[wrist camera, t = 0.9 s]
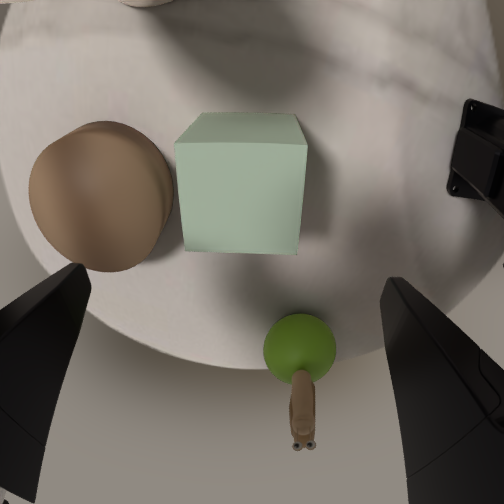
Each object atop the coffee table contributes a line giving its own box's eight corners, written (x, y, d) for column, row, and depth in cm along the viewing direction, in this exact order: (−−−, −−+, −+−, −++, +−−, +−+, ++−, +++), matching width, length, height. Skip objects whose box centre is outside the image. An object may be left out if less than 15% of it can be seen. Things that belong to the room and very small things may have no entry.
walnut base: (167, 114, 16) (149, 127, 14) (180, 247, 22) (169, 276, 19) (42, 130, 17) (14, 145, 14) (70, 243, 22) (52, 268, 19)
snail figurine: (331, 285, 23) (358, 442, 13) (330, 340, 27) (346, 472, 17) (257, 292, 24) (249, 450, 14) (268, 346, 27) (265, 478, 18)
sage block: (294, 114, 16) (307, 145, 11) (289, 195, 19) (297, 254, 14) (202, 112, 16) (173, 143, 12) (206, 193, 19) (185, 251, 14)
